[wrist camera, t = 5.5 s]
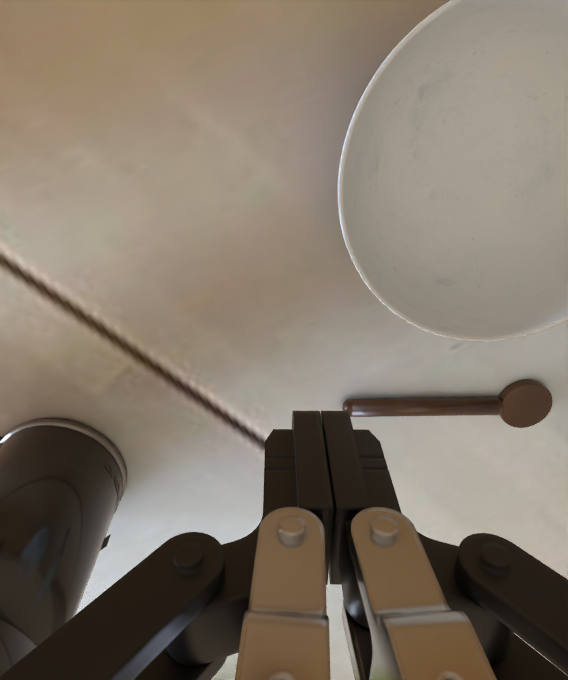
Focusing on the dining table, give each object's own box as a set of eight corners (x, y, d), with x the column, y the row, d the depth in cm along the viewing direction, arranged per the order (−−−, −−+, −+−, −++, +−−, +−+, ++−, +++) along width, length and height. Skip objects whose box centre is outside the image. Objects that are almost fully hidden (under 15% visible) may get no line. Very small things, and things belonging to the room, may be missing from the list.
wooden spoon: (340, 424, 36) (342, 434, 35) (342, 381, 34) (345, 390, 33) (541, 421, 36) (549, 432, 35) (553, 378, 35) (562, 387, 34)
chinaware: (575, -48, 24) (697, -106, 17) (601, 239, 30) (698, 281, 24) (284, 73, 26) (288, 65, 19) (364, 319, 32) (389, 380, 26)
